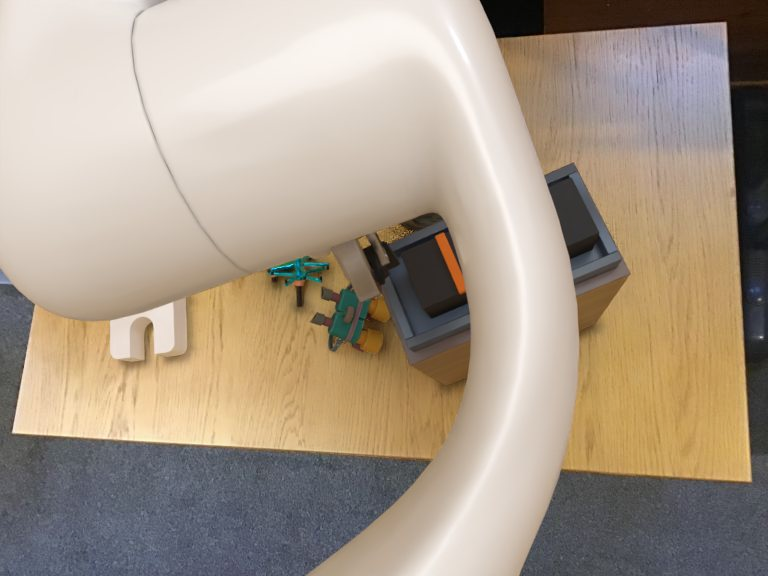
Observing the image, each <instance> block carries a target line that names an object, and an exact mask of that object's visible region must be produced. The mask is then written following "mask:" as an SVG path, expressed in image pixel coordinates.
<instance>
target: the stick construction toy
mask: <svg viewBox="0 0 768 576" xmlns="http://www.w3.org/2000/svg"><path fill="white" fill-rule="evenodd" d="M308 260H309V261H308ZM312 260H313V258H311V257H309V256H304V257H302V258H299V259H296V260H293V261H290V262H287V263H284V264H281V265H278V266H276V267H273V268H270V269H267V270H266V271H267V275H268V276H269V277H270V279H271V283H276V282H277V277H290V278H289V279H288V278H284V280H283V282H284V288H285V287H288V286H290V285H291V284H292V283H293V285H294V286H295V291H296V292H295V293H296V294H295V296H296V297H295V298H296V307H297V308H302V307H303V286H304V285H305V281H307V280H308V281H312V282H315V283H319V284H322V283H323V275H319V277H317V276H316V277H315V276H313V275H311V274H315V273H318V272H322V271H325V270H326V271H329V270H330V262H319V261H318V262H317V261H312ZM304 267H316V268H311V269H306V270H305V268H304ZM292 270H293V271H292Z"/></svg>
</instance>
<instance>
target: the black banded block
mask: <svg viewBox="0 0 768 576" xmlns="http://www.w3.org/2000/svg"><path fill="white" fill-rule="evenodd" d="M400 254H401V257H402V259H403V262H404V264H405V266H406V269H407V271H408V274H409V276H410V279H411V281H412V283H413V286H414V288H415V291H416V293H417V296H418V298H419V301H420V303H421V305H422V308H423V309H424V311H425V312H426V313H427V314H428V315H429V317H430V318H431V319H433V318H435V317H437V316H440V315H442V314H444V313H447V312H449V311H451V310H454V309H456V308H459V307H461V306H463V305H466V304H468V300H467V295H466V289H465V284H464V279H463V274H462V269H461V266H460V263H459V259H458V256H457V253H456V250H455V247H454V243H453V240H452V237H451V235H450V232H448V233H445V234H444V233H441V234H439V235H437V236H435V238H434V239H432V240H429V241H427V242H425V243H423V244H420V245H418V246H416V247H413V248H411V249H409V250H407V251H404V252H402V253H400Z"/></svg>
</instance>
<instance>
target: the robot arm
mask: <svg viewBox="0 0 768 576" xmlns="http://www.w3.org/2000/svg"><path fill="white" fill-rule="evenodd" d="M544 175H545V174H544V172H543V169H542V166H541V163H540V160H539V157H538V154H537V151H536V148H535V145H534V143H533V140H532V137H531V134H530V131H529V128H528V125H527V122H526V120H525V117H524V114H523V111H522V108H521V105H520V101H519V99H518V95H517V94H516V90H515V88H514V85H513V82H512V79H511V76H510V73H509V71H508V68H507V65H506V62H505V59H504V56H503V53H502V50H501V47H500V46H499V42H498V40H497V37H496V35H495V32H494V29H493V27H492V24H491V23H490V20H489V18H488V16H487V14H486V12H485V10H484V7H483V5H482V3H481V1H480V0H0V270H1V271H2V273H3V274H4V275H5V277H6V278H7V279H8V281H10V283H11V284H12V285H13V287H15V289H16V290H17V291H18V292H20V294H21V295H23V296H24V297H25V298H27V300H29V301H30V302H31V303H33V304H34V305H36V306H38V307H39V308H41V309H43V310H44V311H45V312H49V313H51V314H52V315H55V316H58V317H61V318H64V319H69V320H75V321H80V322H89V323H90V322H91V323H93V322H94V323H95V322H107V321H110V320H115V319H119V318H123V317H127V316H131V315H135V314H140V313H144V312H147V311H149V310H152V309H155V308H158V307H161V306H164V305H166V304H169V303H172V302H175V301H178V300H181V299H183V298H186V299H187V298H188V297H192V296H195V295H197V294H200V293H203V292H205V291H208V290H212V289H215V288H217V287H220V286H223V285H225V284H226V285H227V284H228V283H230V282H234V281H236V280H240V279H243V278H245V277H248V276H251V275H255V274H257V273H260V272H261V273H262V272H265V271H267V269H270V268H273V267H276V266H278V265H281V264H284V263H287V262H290V261H293V260H296V259H299V258H303V257H304V256H309V257H311V258H312V260H318V259H322V258H325V257H327V256H331V253H332V255H333V257H334V259H335V260H336V262H337V264H338V266H339V267H340V270H341V272H342V273H343V275H344V276H345V278H346V280H347V281H349V284H351V287H353V288H352V291H353V290H354V291H355V293H356V295H357V297H358V299H359V301H360V302H361V303H362V302H365V301H367V300H369V299H372V298H374V299H375V298H377V297H380V296H382V287H381V285H384V284H386V283H385V279H386V278H387V277H388V276H389V275H390V274H389V271H388V270H390V269H392V268H394V267H397V266H398V265H399V264H400V262H399V260H398V258H397V256H396V254H395V253H394V252H393V250H392V249H391V247H390V246H389V245H388V241H385V240H381V239H380V236H379V235H378V232H380V231H383V230H386V229H389V228H391V227H395V226H397V225H400V223H403V222H406V221H408V220H411V219H414V218H416V217H418V216H421V215H424V214H427V213H437V214H439V215H440V216H442V218H443V219H444V221H445V223H446V224H447V227H448V230H449V232H450V235H451V237H452V240H453V243H454V247H455V250H456V253H457V256H458V259H459V263H460V266H461V269H462V274H463V279H464V284H465V289H466V295H467V300H468V305H469V311H470V326H471V348H470V362H469V369H468V376H467V377H466V382H465V385H464V390H463V395H462V398H461V400H460V401H461V402H460V404H459V407H458V411H457V413H456V415H455V418H454V421H453V422H452V425H451V427H450V429H449V431H448V433H447V436H446V437H445V440H444V441H443V444H441V447H440V448H439V450H438V452H437V453H436V454H435V456H434V458H433V459H432V460H431V461H430V462H429V464H428V465H427V466H426V467H425V469H423V471H422V472H421V473H420V475H419V476H418V477H417V478H416V480H415V481H414V482H413V483H412V484H411V485H410V487H408V488H407V489H406V490H405V492H404V493H403V494H402V495H400V497H399V498H398V499H397V500H396V501H395V502H394V503H392V505H390V507H389V508H387V509H386V510H385V511H384V512H383V513H381V514H380V515H379V516H378V517H377V518H376V519H375V520H373V521H372V522H371V523H370V524H369V525H368V526H366V527H365V529H363V530H362V531H361V532H360V533H358V534H357V535H355V536H354V537H353V538H352V539H350V540H349V541H348V542H347V543H346V544H344V545H343V546H342V547H341V548H339V549H337V551H335V552H334V553H333V554H332V555H330V556H329V557H327V558H326V559H325V560H324V561H322V562H320V564H318V565H317V566H316V567H314V569H312V570H310V572H308V573H306V575H305V576H520V575H521V571H522V570H523V567H524V564H525V562H526V560H527V557H528V555H529V553H530V551H531V548H532V546H533V543H534V542H535V539H536V536H537V534H538V532H539V530H540V527H541V525H542V522H543V521H544V518H545V516H546V513H547V511H548V510H549V506H550V504H551V500H552V498H553V495H554V492H555V490H556V487H557V484H558V482H559V478H560V474H561V471H562V468H563V464H564V461H565V458H566V453H567V448H568V446H569V442H570V438H571V433H572V427H573V422H574V416H575V408H576V403H577V395H578V390H579V389H578V385H579V363H580V331H579V329H578V309H577V300H576V294H575V288H574V282H573V276H572V270H571V264H570V258H569V254H568V251H567V247H566V244H565V240H564V237H563V233H562V230H561V226H560V222H559V218H558V215H557V212H556V209H555V206H554V203H553V200H552V197H551V195H550V192H549V189H548V186H547V183H546V180H545V177H544ZM363 237H366V238H367V241H368V242H369V245H368V246H366V247H364V248H363V247H362V245H361V243H360V241H359V239H362V238H363Z"/></svg>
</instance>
